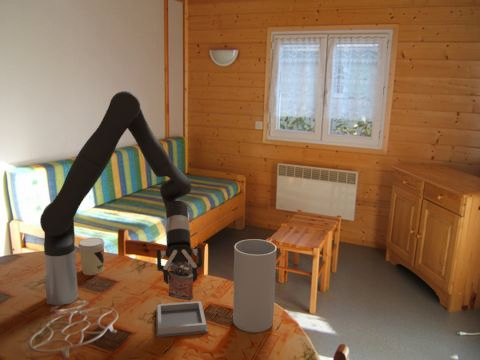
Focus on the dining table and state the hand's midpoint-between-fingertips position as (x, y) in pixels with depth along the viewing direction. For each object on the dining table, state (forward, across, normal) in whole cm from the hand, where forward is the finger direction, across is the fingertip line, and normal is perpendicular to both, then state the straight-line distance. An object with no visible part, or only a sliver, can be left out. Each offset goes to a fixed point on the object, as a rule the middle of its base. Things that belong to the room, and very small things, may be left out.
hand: (180, 282), depth 132 cm
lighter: (+3, 0, +4) cm, 5 cm away
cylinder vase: (+12, +22, +8) cm, 26 cm away
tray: (+9, 0, +10) cm, 14 cm away
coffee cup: (-20, -31, +39) cm, 54 cm away
